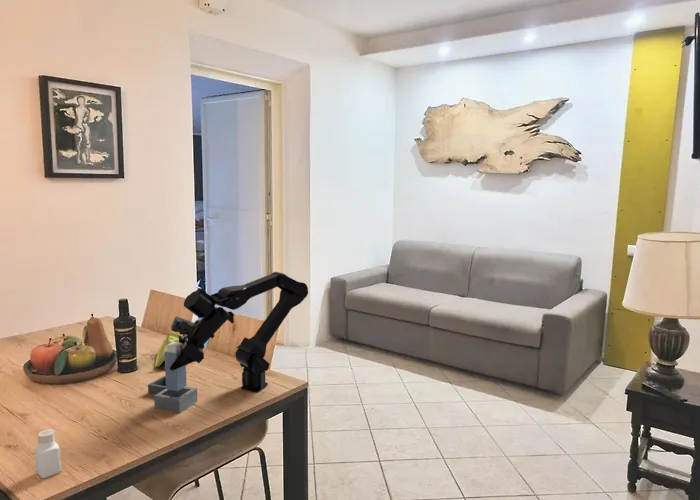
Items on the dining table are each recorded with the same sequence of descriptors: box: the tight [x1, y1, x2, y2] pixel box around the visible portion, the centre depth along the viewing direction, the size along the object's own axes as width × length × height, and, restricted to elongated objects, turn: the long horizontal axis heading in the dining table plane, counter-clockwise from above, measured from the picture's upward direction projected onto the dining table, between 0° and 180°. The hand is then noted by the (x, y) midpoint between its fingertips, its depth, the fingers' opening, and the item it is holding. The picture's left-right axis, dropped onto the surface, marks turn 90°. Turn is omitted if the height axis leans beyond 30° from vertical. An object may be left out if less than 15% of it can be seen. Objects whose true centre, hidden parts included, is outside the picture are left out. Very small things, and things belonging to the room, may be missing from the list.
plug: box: [164, 342, 187, 391], centre depth 144 cm, size 4×4×13 cm
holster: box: [147, 375, 166, 396], centre depth 154 cm, size 7×7×3 cm
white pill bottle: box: [34, 428, 62, 479], centre depth 110 cm, size 4×4×10 cm
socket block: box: [153, 385, 198, 414], centre depth 145 cm, size 8×8×4 cm
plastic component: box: [154, 331, 183, 368], centre depth 183 cm, size 20×7×10 cm
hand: (170, 365), depth 143 cm, fingers closed on plug, 6 cm apart
